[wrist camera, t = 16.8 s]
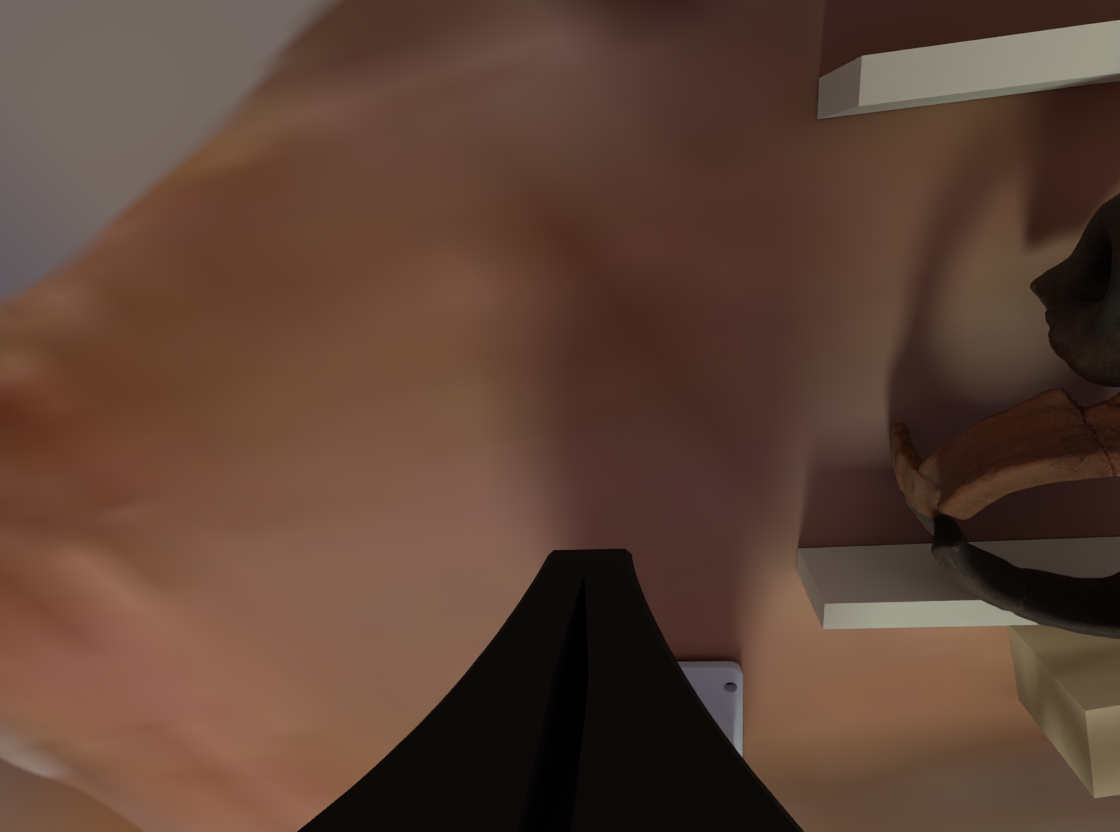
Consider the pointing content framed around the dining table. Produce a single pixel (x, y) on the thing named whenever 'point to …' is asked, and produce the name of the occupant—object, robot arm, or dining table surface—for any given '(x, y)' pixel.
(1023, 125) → the dining table surface
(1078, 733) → the birch block
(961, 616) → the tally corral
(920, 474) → the pottery mug
